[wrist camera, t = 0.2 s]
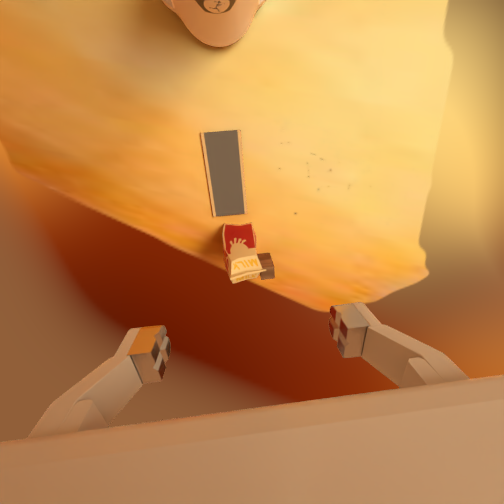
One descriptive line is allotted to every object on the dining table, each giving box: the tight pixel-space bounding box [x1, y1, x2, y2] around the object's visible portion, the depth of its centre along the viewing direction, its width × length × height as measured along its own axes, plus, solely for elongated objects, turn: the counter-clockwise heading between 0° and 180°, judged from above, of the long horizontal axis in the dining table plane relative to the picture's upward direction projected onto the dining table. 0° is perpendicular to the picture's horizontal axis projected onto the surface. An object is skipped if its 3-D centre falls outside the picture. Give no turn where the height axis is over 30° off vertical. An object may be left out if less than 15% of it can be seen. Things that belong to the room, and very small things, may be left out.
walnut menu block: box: [257, 253, 275, 280], centre depth 60 cm, size 4×4×8 cm
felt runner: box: [201, 130, 247, 217], centre depth 53 cm, size 19×9×1 cm, turn 4°
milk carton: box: [222, 223, 266, 283], centre depth 52 cm, size 9×9×20 cm
